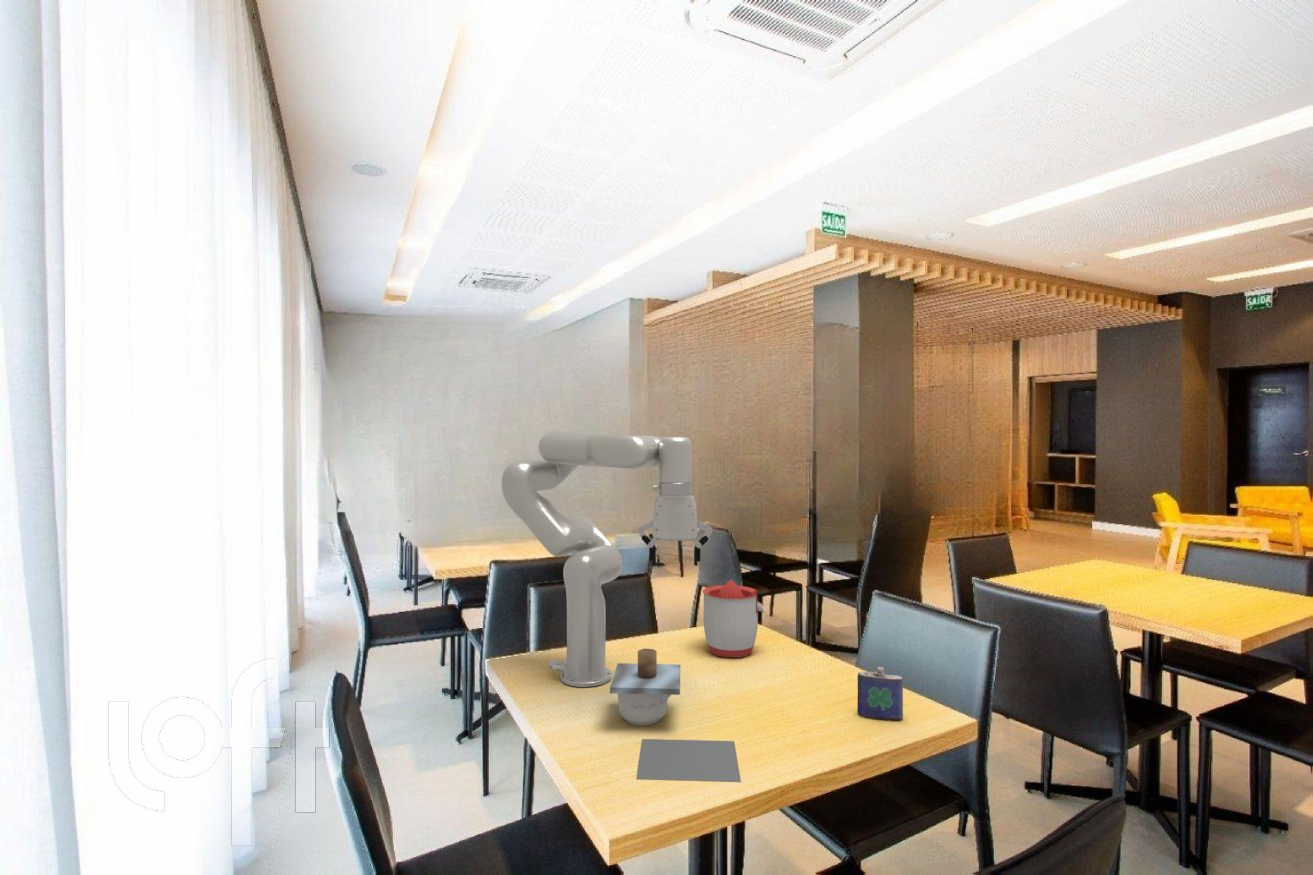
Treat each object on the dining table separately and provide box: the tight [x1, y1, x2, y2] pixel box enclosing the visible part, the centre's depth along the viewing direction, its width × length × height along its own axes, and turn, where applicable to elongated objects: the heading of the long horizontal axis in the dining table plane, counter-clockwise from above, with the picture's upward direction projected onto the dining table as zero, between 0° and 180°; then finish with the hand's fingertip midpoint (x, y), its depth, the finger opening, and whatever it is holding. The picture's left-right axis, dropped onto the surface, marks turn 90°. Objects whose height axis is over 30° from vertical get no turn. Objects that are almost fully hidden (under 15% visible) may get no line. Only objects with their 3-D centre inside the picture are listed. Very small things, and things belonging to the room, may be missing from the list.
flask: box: [857, 666, 904, 722], centre depth 137 cm, size 9×3×11 cm, turn 74°
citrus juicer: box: [702, 579, 766, 658], centre depth 179 cm, size 16×17×20 cm
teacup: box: [617, 693, 672, 727], centre depth 136 cm, size 14×11×8 cm
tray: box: [635, 738, 742, 783], centre depth 118 cm, size 18×15×1 cm
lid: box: [609, 648, 681, 696], centre depth 136 cm, size 14×14×6 cm
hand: (674, 564), depth 148 cm, fingers open, 9 cm apart
